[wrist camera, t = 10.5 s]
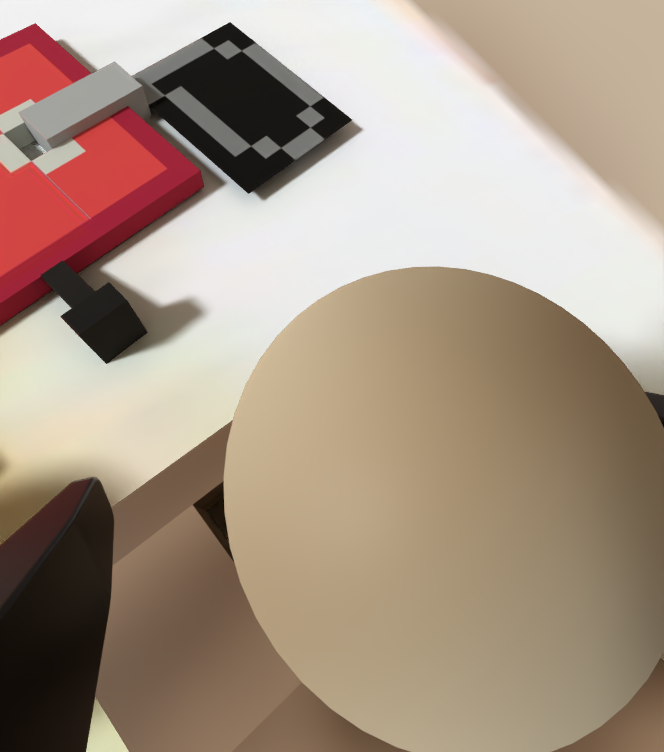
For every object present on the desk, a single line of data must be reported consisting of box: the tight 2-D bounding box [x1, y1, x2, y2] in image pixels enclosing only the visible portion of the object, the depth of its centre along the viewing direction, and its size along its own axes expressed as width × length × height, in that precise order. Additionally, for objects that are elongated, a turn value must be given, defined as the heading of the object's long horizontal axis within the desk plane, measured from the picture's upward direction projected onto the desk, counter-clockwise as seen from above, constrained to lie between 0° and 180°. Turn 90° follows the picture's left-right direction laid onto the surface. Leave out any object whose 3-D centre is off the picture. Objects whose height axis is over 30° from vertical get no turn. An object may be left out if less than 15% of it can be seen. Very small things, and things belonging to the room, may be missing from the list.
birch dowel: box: [224, 267, 664, 752], centre depth 10 cm, size 4×4×13 cm
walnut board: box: [95, 420, 664, 752], centre depth 13 cm, size 18×12×3 cm, turn 40°
